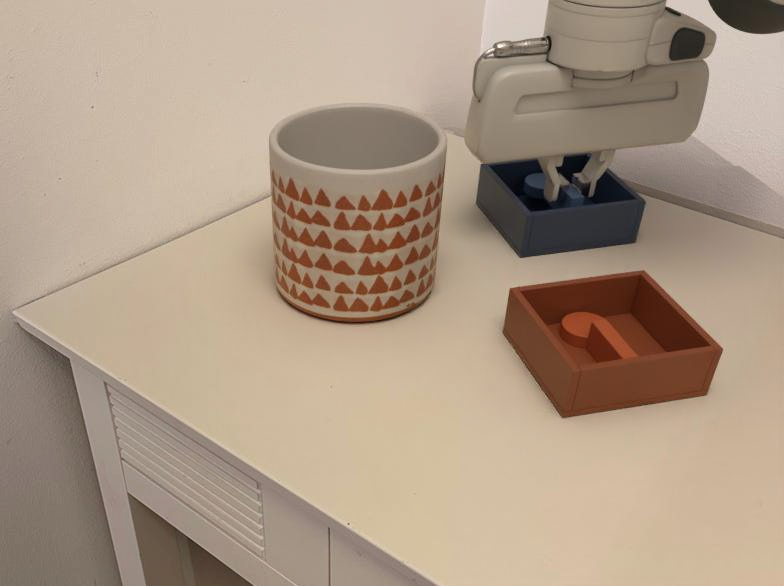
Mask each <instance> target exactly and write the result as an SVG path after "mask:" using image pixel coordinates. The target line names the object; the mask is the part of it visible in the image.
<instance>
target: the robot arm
mask: <svg viewBox="0 0 784 586" xmlns="http://www.w3.org/2000/svg"><path fill="white" fill-rule="evenodd" d="M667 1H668V0H548V3H547V8H546V15H545V22H544V28H543V34H542V36H541V37H532V38H531V37H530V38H525V39H522V40H521V39H520V40H516V41H515V40H514V41H512V40H500V41H497V42H495V43H494V44H493V45H492V47H490V48H488V49H486V50H485V51H483V53H481V55H480V56H479V57H478V58H477V59H476V61H475V62H474V66H473V74H472V82H471V88H472V89H471V90H472V96H471V100H470V104H469V109H468V113H467V117H466V123H465V128H464V136H463V140H464V144H465V147H466V148H467V149H468V151H469V152H470V153H471V154H472V156H473V157H475V158H476V160H477V161H479V162H480V164H482V163H484V164H489V163H498V162H507V161H517V160H526V159H535V158H537V159H538V161H539V164H540V166H541V168H542V171H543V173H544V175H545V177H546V181H545V187H544V197H545V198H546V199H547V200H548V201H549V202H557V201H564V200H566V198H567V191H568V190H569V184H570V183H569V182H568V181H567V180H564V177H563V176H562V175H558V173H557V170H556V166H557V167H559V166H562V163H563V158H564V155H571V154H580V153H590V154H592V157H591V158H590V160H589V161H588V163H587V164H586V166H585V167H584V169H583V170H582V173H575V174H573V177H572V182H573V183H572V185H573V186H574V187H575V188H576V189H577V190H578V191H579V192H580V193H581V194H582V195H583V196H584V198H590V197H593V195H594V191H595V186H596V182H597V180H598V179H599V178H600V177H601V176H602V174H603V173H604V172H605V171H606V169H607V168H609V167H610V166H611V164H612V163H613V162H614V158H615V156H616V150H625V149H632V148H633V149H634V148H642V147H651V146H660V145H670V144H678V143H680V144H681V143H684V142H685V141H687V140H688V139H689V138H690V137H691V136H692V134H693V133H694V132H695V131H696V130H697V129H698V126H699V124H700V121H701V117H702V113H703V110H704V105H705V102H706V96H707V93H708V88H709V87H708V86H709V81H710V68H709V66H708V64H707V61H705V59H707V58H708V57H710V56H711V55H712V53H713V51H714V49H715V45H716V43H717V38H718V37H717V33H716V31H714V30H713V29H712V28H710V27H709V26H708V25H706V24H704V23H702V22H701V21H699V20H697V19H696V18H694V17H692V16H689V15H687V14H685V13H683V12H681V11H679V10H677V9H674V8H671V7H670V6H666V5H667ZM707 2H708V4H709V6H710V8H711V9H712V11H713V12H714V14H715V15H716V16H717V17H718V19H720V21H722V22H723V23H724V24H726V25H727V26H729V27H730V28H733V29H734V30H737V31H739V32H743V33H747V34H752V35H771V34H777V33H782V32H783V33H784V0H707Z"/></svg>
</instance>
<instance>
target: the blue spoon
mask: <svg viewBox="0 0 784 586" xmlns="http://www.w3.org/2000/svg"><path fill="white" fill-rule="evenodd" d="M558 175H561V174H560V173H558ZM564 180H566V179H565V178H564ZM545 181H546V177H545V175H544V173H534V174H531V175H528V176H527V177H526V178H525V182H524V188H523V190H524V192H525V193H526V194H527V195H529V196H531V197H534V198H539V199H544V200H545V201H546V202H547V203H548V204H549V205H550V206H551V207H552V208H553V209H561V208H569V207H577V206H583V201H584V196H583V195H582V194H581V193H580V192H579V191H578V190H577V189H576V188H575V187H574V186H573V185H572V184H571V183H570V182H569V181H568V182H569V183H570V184H569V190H568V191H567V198H566V200H564V201H557V202H549V201H548V200H547V199H546V198H545V197H544V187H545Z"/></svg>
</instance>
